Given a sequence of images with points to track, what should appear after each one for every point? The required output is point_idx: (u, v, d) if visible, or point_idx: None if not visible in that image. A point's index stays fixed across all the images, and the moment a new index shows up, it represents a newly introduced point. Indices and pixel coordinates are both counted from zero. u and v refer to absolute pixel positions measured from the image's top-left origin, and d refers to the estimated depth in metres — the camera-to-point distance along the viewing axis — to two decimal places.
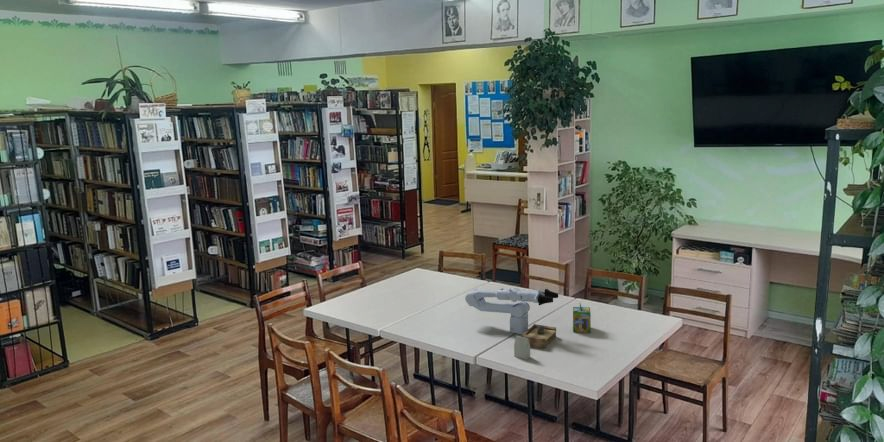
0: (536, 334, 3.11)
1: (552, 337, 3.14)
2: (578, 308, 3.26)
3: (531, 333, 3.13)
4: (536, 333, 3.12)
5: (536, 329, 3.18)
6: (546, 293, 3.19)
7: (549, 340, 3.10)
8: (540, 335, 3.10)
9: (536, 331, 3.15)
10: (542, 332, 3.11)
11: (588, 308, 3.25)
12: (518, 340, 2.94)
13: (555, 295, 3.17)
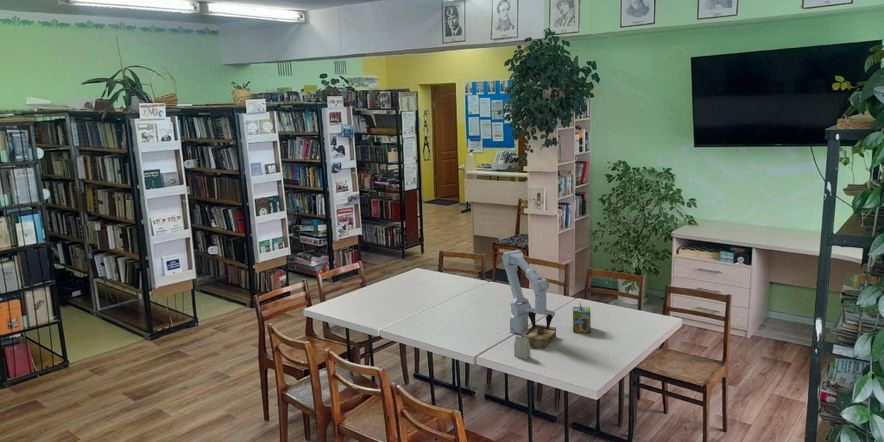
0: (536, 334, 3.11)
1: (552, 337, 3.14)
2: (578, 308, 3.26)
3: (531, 333, 3.13)
4: (536, 333, 3.12)
5: (536, 329, 3.18)
6: None
7: (549, 340, 3.10)
8: (540, 335, 3.10)
9: (536, 331, 3.15)
10: (542, 332, 3.11)
11: (588, 308, 3.25)
12: (518, 340, 2.94)
13: None
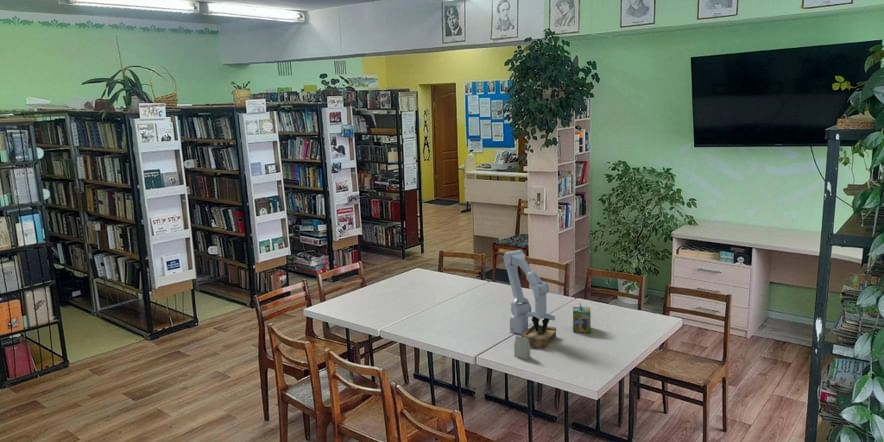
0: (536, 334, 3.11)
1: (552, 337, 3.14)
2: (578, 308, 3.26)
3: (531, 333, 3.13)
4: (536, 333, 3.12)
5: None
6: None
7: (549, 340, 3.10)
8: (540, 335, 3.10)
9: None
10: (542, 332, 3.11)
11: (588, 308, 3.25)
12: (518, 340, 2.94)
13: None
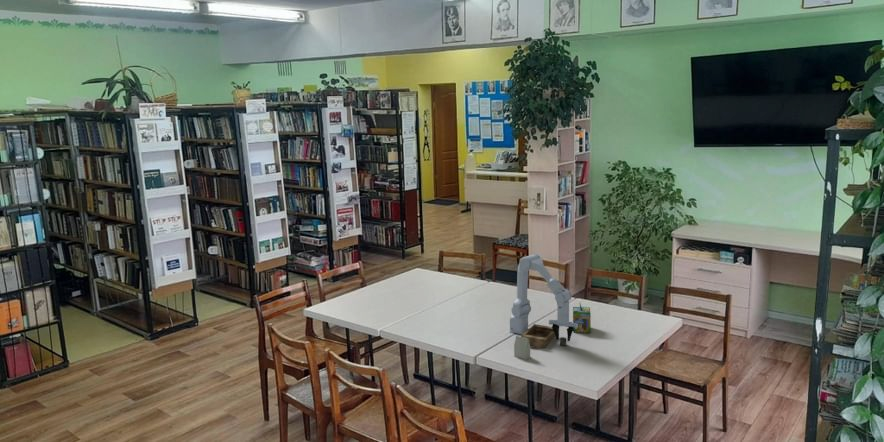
0: None
1: (552, 337, 3.14)
2: (578, 308, 3.26)
3: None
4: None
5: None
6: None
7: (549, 340, 3.10)
8: None
9: None
10: (564, 344, 3.06)
11: (588, 308, 3.25)
12: (518, 340, 2.94)
13: None
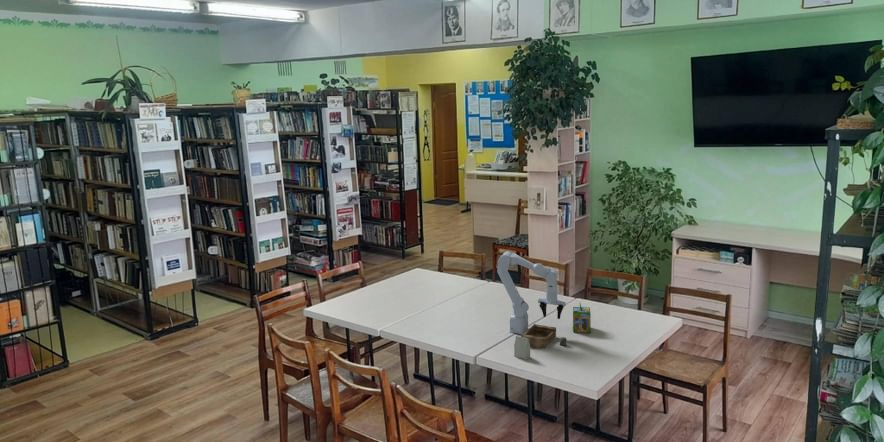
0: None
1: (552, 337, 3.14)
2: (578, 308, 3.26)
3: None
4: None
5: None
6: None
7: (549, 340, 3.10)
8: None
9: None
10: (564, 344, 3.06)
11: (588, 308, 3.25)
12: (518, 340, 2.94)
13: None
